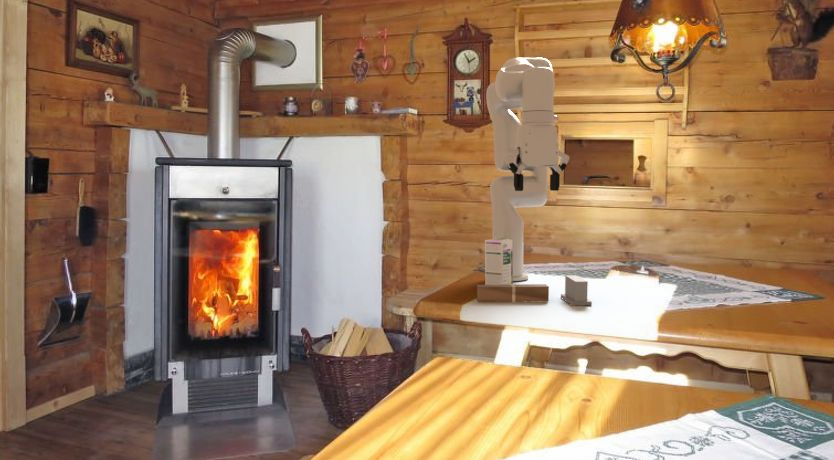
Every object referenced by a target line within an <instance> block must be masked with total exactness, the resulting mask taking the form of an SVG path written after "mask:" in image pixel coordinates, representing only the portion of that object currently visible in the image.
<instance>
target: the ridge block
mask: <svg viewBox="0 0 834 460" xmlns="http://www.w3.org/2000/svg"><path fill="white" fill-rule="evenodd" d="M564 280H565V282H564V284H565V285H564V287H565V288H564V293H561V294H560V298H561V299H562V298H563V299H564V300H566V301H567V302H568V304H569V303H570V304H571V305H592V303H593V301H591V300H590V299H588V286H589V285H588V282H589V281H588V280H586V279H585V278H582V277H581V276H579V275H571V274H570V275H569V274H568V275H565V278H564ZM563 299H562V300H563ZM564 300H563V301H564ZM566 301H565V302H566ZM567 302H566V303H567ZM570 304H569V305H570ZM571 305H570V306H571Z"/></svg>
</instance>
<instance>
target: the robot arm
mask: <svg viewBox="0 0 834 460" xmlns="http://www.w3.org/2000/svg"><path fill="white" fill-rule="evenodd" d="M496 73H497V74H496V76H495V81H494V82H492V83H490V84H489V85H488V87H487V88H486V93H485V95H486V97H485V98H486V106H487V110H488V113H489V117H490V119H491V122H492V126H493V149H494V150H493V151H494V152H493V157H494V165H495V167H496V169H497V171H501V172H508V173H510V172H511V174H512V175H502V176H498V177H495V178H494V179H493V180H492V181H491V183H490V185H489V196H490V200H491V201H490V202H491V209H492V210H491V212H492V213H491V214H492V236H491V237H492V238H491V239H495V238H508V239H512V259H513V282H521V281H527V280H528V279H529V275H528V274H527V273H524V244H525V243H524V236H525V234H524V233H525V231H524V229H525V228H524V227H525V224H524V220H523V218H522V216H521V215H520V214H519V212H518V211H517V210H516V209H517V208H540V207H544V205H546V203H547V201H548V197H549V196H548V194H549V193H548V192H549V190H550V191H551V192H552V191H553V192H555V191H557V192H558V191H559V190H560V183H561V175H562V174H563V171H564V170H565V169H566V168H567V165H568V163H569V161H570V156H569V155H568V154H566V153H564V152H563V151H561V150H560V149H559V137H558V132H557V127H556V125H554V123H555V122H558V119H559V116H558V115H555V112H554V108H555V107H554V106H555V104H554V102H555V101H554V100H555V97H554V95H555V89H556V83H555V73H554V70H553V66H552V64H551V62H550V60H548V59H547V58H545V57H544V58H543V57H513V58H510V59H508V60H506V61H505V62H504V63H503V65H502V66H501V68H499V70H498V71H497V72H496ZM511 110H516V111H519V110H520V111H521V121H520V120H519V118H518V117H517V115H515V113H513V111H511ZM559 159H560V163H559ZM548 169H549V170H550V172H551V174H550V175H549V176H548ZM526 172H527V173H530V175H524V174H523V173H526ZM548 177H549V181H548ZM548 187H549V189H548Z"/></svg>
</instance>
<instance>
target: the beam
mask: <svg viewBox="0 0 834 460" xmlns="http://www.w3.org/2000/svg"><path fill="white" fill-rule="evenodd" d="M549 292H550V286H549V285H548V284H543V283H540V284H539V283H537V284H534V283H531V284H530V283H529V284H525V283H524V284H516V283H515V284H514V283H513V284H510V285H485V284H476V301H477V302H478V303H524V302H523V301H527V302H526V303H532V302H531V301H550V300H549V295H550V294H549ZM529 301H530V302H529Z"/></svg>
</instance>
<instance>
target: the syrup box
mask: <svg viewBox="0 0 834 460" xmlns="http://www.w3.org/2000/svg"><path fill="white" fill-rule="evenodd" d="M484 276H485V277H484V278H485V279H484V285H510V284H514V283H513V282H514V281H513V259H512V239H508V238H495V239H492V238H489V239H485V240H484Z"/></svg>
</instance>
